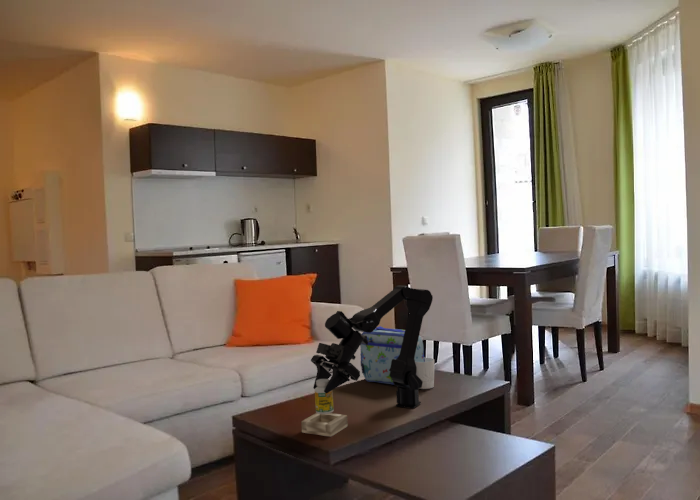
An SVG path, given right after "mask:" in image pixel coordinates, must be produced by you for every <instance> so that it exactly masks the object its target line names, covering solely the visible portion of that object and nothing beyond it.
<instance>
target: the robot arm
mask: <svg viewBox="0 0 700 500" xmlns="http://www.w3.org/2000/svg"><path fill="white" fill-rule="evenodd" d="M403 301H406V309H407V311H408V315H407V320H406V324H405V329H404V330H405V333H404V337H403V342H402V346H401V351H400V355H399V356H398V358H397V359H396V360H395V359H392V361H391V367H390V369H389V371H390V377H391V379H392V380H393V383H394V387H396V388H397V390H396V392H395V393H396V396H395V397H396V403H397V404H396V405H395V407H399V408H406V409H416V408H417V407H418V406H419V405H421V404H420V403H421V401H420V399H419V397H420V396H419V388H421V387H422V383H423V382H422V380H421V379H420V378H419V377H418V376H417V375H416V369H417V367H416V364H415V360H414V357H415V352H416V348H417V343H418V338H419V335H420V332H421V328H422V324H423V319H424V316H425V315H426V314H427V313H428V312H429V311H430V308H431V305H432V303H433V295H432V292H431V290H429V289H424V288H423V289H421V288H412V287H408V286H407V285H395V286H394V288H393V289H391V290H390V291H389V293H387V294H386V295H384V296H383V297H382V298H380V300H378V301H377V302H375V304H373V305H372V306H370V307H368V308H365V309H362V310H360V311H357V312H356V313H354V314H353V315H352V316H351V317H349V318H348V317H347V316H346V315H345V313H344V312H343V311H342V310H337V311H336V312H335V313H334V314H331V316H329V317H327V319H326V321H325V323H324V327H325V329H327V330H328V331H329V332H330V334H332V335H333V336H334V337H335V338H336V339H337V340H340V341H339V343H336V342H335V343H334V342H332V343H331V344H327V343H323V342H319V343H318V345H317V349H316V352H315V353H316V354H313V356H312V357H311V359H310V362H311V363H313V365H314V366H315V367H316V370H317V371H316V377H315V379H314V383H313V389H314V390H315V388H316V387H317V385H316V381H317V380H319V379H329V382H328V384H327V386H326V388H325V390H324V392H325V393H328V392H330V391H332V392H333V390H334V389H336V388H338V387H340V386H341V385H343V384H344V383H346V382H350V381H351V380H353V381H356V382H357V381H359V378H360V377H361V371H360V370H359V369H358V368H357V367H356V366H355V365H354V364H353V363H351V360H353V361H354V360H355V359H356V358H357V356H356V355H355V354H356V352H357V351H358V350H359V348H360V345H361V344H366V345H368V340H367V336H365V335H362V333H363V332H366V333H371V332H373V331H374V330H375V329H376V328H377V327H379V325H380V324H381V320H382V318H384V316H386V315H387V314H388V313H389V312H390V311H392V310H393V309H395V307H397V306H398V305H399V304H400V303H401V302H403ZM361 332H362V333H361ZM323 355H324V356H323ZM331 371H332V374H331Z"/></svg>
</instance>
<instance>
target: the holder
mask: <svg viewBox="0 0 700 500" xmlns="http://www.w3.org/2000/svg"><path fill="white" fill-rule="evenodd" d="M347 427H348V415H347V414H340V413H333V412H332V413H330V414H318V413H316V412H315V413H314V414H312V415H311V416H309V417H306V418H304V419H303V420H301V433H303V434H304V433H305V434H311V435H319V436H324V437H333V436H334V435H336V434H337V433H339V432H340V431H342V430H344V429H345V428H347Z"/></svg>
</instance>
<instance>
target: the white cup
mask: <svg viewBox="0 0 700 500" xmlns="http://www.w3.org/2000/svg"><path fill="white" fill-rule="evenodd" d="M424 360H425V362H416V361H415V364H416V367H417V369H416V375H417V376H418V377H419V378H420V379H421V380H422V382H423V383H422V387H421V388H419V389H421V390H429V389H432V388H434V386H435V359H434V358H432V357H424ZM419 389H418V390H419Z"/></svg>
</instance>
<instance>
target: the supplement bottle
mask: <svg viewBox="0 0 700 500" xmlns="http://www.w3.org/2000/svg"><path fill="white" fill-rule="evenodd" d="M329 380H330V378H328V379H319V380H317V381H316V385H317V387H316V388H315V389H314V401H315V414H316V413H318V414H330V413H333V412H334V411H335V410H334V395H333V394H334V393H333V390H332V391H330V392H328V393H325V392H324V390H325V388H326V386H327V384H328V382H329Z"/></svg>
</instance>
